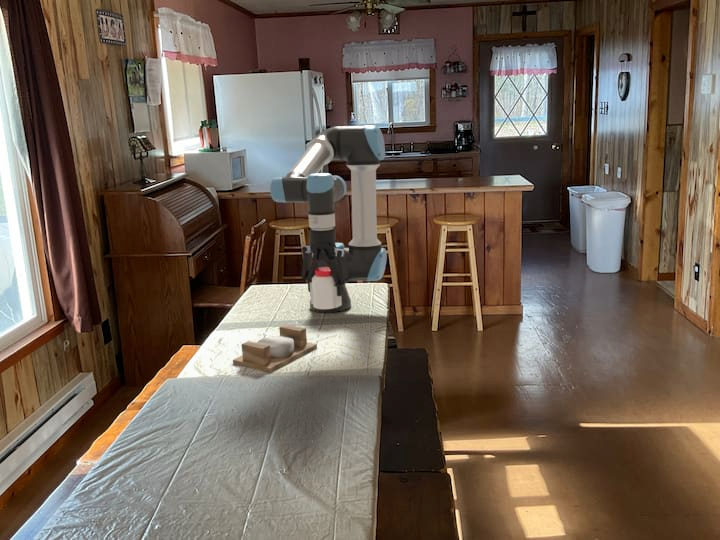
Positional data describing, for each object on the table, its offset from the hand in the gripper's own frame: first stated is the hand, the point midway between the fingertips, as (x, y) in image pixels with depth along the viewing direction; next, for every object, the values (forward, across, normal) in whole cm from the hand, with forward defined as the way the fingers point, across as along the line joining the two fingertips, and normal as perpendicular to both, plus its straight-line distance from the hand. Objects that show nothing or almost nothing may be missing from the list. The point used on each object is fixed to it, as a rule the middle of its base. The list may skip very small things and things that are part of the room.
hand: (326, 304), depth 200 cm
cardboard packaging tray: (+15, -13, -9) cm, 22 cm away
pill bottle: (0, 0, 0) cm, 0 cm away
